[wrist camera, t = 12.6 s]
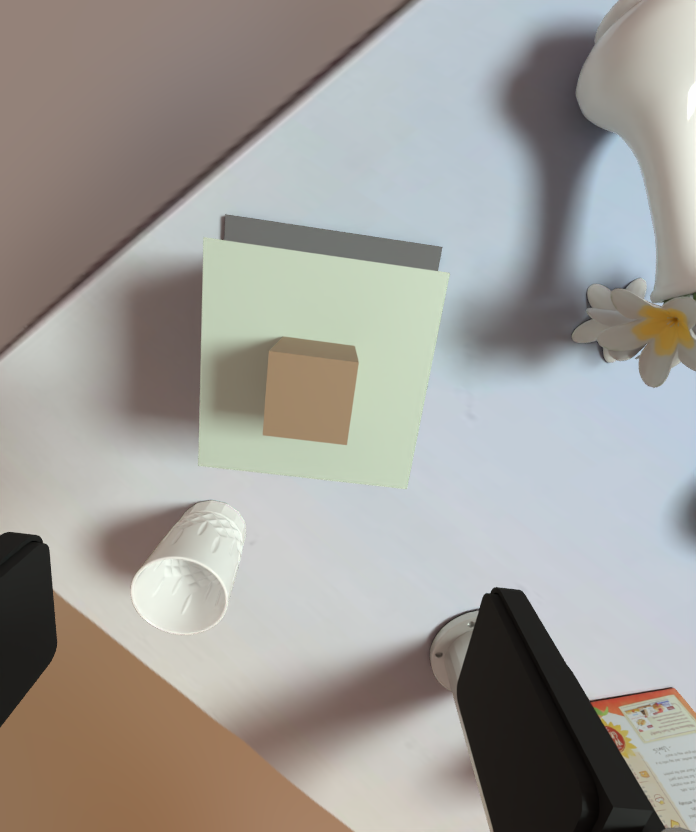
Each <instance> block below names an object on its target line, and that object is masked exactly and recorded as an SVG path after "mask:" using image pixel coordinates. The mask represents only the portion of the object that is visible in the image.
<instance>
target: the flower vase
mask: <svg viewBox="0 0 696 832" xmlns="http://www.w3.org/2000/svg"><path fill="white" fill-rule="evenodd" d="M594 41H595V46H594V47H593V49H592V50H591V52H590V54H589V55H588V57H587V59H586V60H585V62H584V64H583V67H582V69H581V72H580V75H579V79H578V82H577V86H576V97H577V101H578V105H579V108H580V110H581V112H582V113H583V115H584V116H585V117H586V118H587V119H588V120H589V121H590V122H592V123H593V124H595V125H596V126H598V127H600V128H601V129H604V130H607V131H610V132H612V133H615V134H617V135H619V136H620V137H621V138H622V140H623V141H624V142H625V143H626V144H627V145H628V147H629V148H630V150H631V151H632V153H633V154H634V156H635V158H636V160H637V162H638V165H639V167H640V170H641V174H642V177H643V181H644V185H645V190H646V194H647V199H648V204H649V209H650V214H651V219H652V224H653V229H654V236H655V246H656V274H655V285H654V289H653V291H652V293H651V295H650V299H651V302H652V303H650V302H648V301H646V300H645V299H644V297H645V294H646V287H647V285H646V282H645V280H644V279H642V278H639V279H636V280H634V281H633V282H631V283H630V284H629V285H628V286H627V288H626V289H621V288H616V289H614V290H612V291H611V290H609V289H608V288H606V287H605V286H603V285H600V284H592V285H591V286H590V287H589V288H588V291H587V297H588V301H589V303H590V305H591V306H592V308H588V309H587V310H586V312H587V314H588V315H589V316H590V317H591V318H592V319H591V320H589V321H586V322H585V323H583V324H581V325H580V326H578V327H577V328H576V329H575V330H574V332H573V333H572V339H573V341H574V342H577V343H589V342H594V341H598V344H599V345H600V346H602V347H603V355H604V358H605V360H606V361H607V362H609V363H611V362H614V361H616V360H618V361H625V360H628V359H631V358H632V357H634V356H635V355H636V354H637V353H638V352H639V351H640V350H641V349H642V348H643V347H644V346H645V345H646V344H647V345H646V346H645V348H644V349H643V351H642V352H641V355H639V356H638V357H636V358H635V359H638V358H639V373H640V376H641V378H642V380H643V381H644V383H645V384H646V385H648V386H650V387H653V388H655V387H659V386H661V385H662V384H663V383H664V382H665V381H666V379H667V377H668V375H669V373H670V370H671V368H673V367H674V366H676V365H678V364H679V363H680V362H682V363H683V364H684V365H685V366H687V367H688V368H690V369H692V370H694V371H696V0H619V1H618V2H617V3H616V4H615V5H614V6H613V7H612V8H611V9H610V10H609V12H608V13H607V14H606V15H605V17H604V18H603V20H602V22H601V23H600V25H599V27H598V29H597V32H596V36H595V40H594ZM662 302H664V304H663V305H662V306H659V305H656V304H653V303H662Z"/></svg>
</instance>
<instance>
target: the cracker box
mask: <svg viewBox="0 0 696 832" xmlns="http://www.w3.org/2000/svg"><path fill="white" fill-rule="evenodd" d="M591 704H592V706H593V707H594V709H595V711H596V712H597V714H598V716H599V717H600V719H601V721H602V722H603V724H604V726H605V727H606V729H607V731H608V733H609V734H610V736H611V738H612V739H613V741H614V743H615V744H616V746H617V748H618V749H619V751H620V753H621V754H622V756H623V758H624V759H625V761H626V763H627V764H628V766H629V768H630V769H631V771H632V773H633V774H634V776H635V778H636V779H637V781H638V783H639V784H640V786H641V788H642V789H643V791H644V793H645V795H646V796H647V798H648V800H649V801H650V803H651V805H652V806H653V808H654V810H655V811H656V813H657V815H658V816H659V818H660V820H661V821H662V823H663V825H664V826H665V828H673V827H681V828H684V829H687V830H690V831H693V832H696V713H695V712H694V711H693V709H692V708H691V707H690V706H689V704H688V703H687V702H686V701H685V700H684V699H683V697H682V696H681V695H680V694H679V693H678V692H677V690H676V689H675V688H670V689H665V690H659V691H654V692H647V693H641V694H636V695H630V696H624V697H619V698H613V699H606V700H601V701H595V702H591Z"/></svg>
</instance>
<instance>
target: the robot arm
mask: <svg viewBox="0 0 696 832" xmlns="http://www.w3.org/2000/svg"><path fill="white" fill-rule="evenodd" d="M56 648H57V636H56V624H55V612H54V600H53V588H52V576H51V564H50V552H49V547H48V545H47V544H44V543H43V541H42V539H41V537H40V536H37V535H31V534H22V533H14V532H7V533H4V534H2V535H0V727H1V726H2V724H3V723H4V722H5V720H6V719H7V718H8V717H9V715H10V714H11V713H12V711H13V710H14V709H15V708H16V706H17V705H18V704H19V703H20V701H21V700H22V699H23V697H24V696H25V695H26V693H27V692H28V691H29V689H30V688H31V687H32V686H33V684H34V683H35V682H36V681H37V679H38V678H39V677H40V675H41V674H42V673H43V671H44V670H45V669H46V668H47V666H48V665H49V664H50V662H51V661H52V658H53V657H54V654H55V652H56ZM430 662H431V667H432V670H433V673H434V676H435V677H436V679H437V680H438V682H439V683H440V684H441V685H442V686H443V687H445V688H446V689H447V690H449V691H451V692H452V694H453V698H454V701H455V705H456V709H457V712H458V716H459V720H460V723H461V727H462V731H463V734H464V738H465V742H466V745H467V749H468V752H469V756H470V760H471V763H472V767H473V771H474V774H475V778H476V782H477V785H478V789H479V793H480V796H481V800H482V804H483V807H484V811H485V815H486V818H487V822H488V825H489V829H490V832H693V831H690V830H687V829H684V828H681V827H673V828H665V826H664V825H663V823H662V821H661V820H660V818H659V816H658V815H657V813H656V811H655V810H654V808H653V806H652V805H651V803H650V801H649V800H648V798H647V796H646V795H645V793H644V791H643V789H642V788H641V786H640V784H639V783H638V781H637V779H636V778H635V776H634V774H633V773H632V771H631V769H630V768H629V766H628V764H627V763H626V761H625V759H624V758H623V756H622V754H621V753H620V751H619V749H618V748H617V746H616V744H615V743H614V741H613V739H612V738H611V736H610V734H609V733H608V731H607V729H606V727H605V726H604V724H603V722H602V721H601V719H600V717H599V716H598V714H597V712H596V711H595V709H594V707H593V706H592V704H591V702H590V701H589V699H588V697H587V696H586V694H585V692H584V691H583V689H582V687H581V686H580V684H579V682H578V681H577V679H576V677H575V676H574V674H573V672H572V671H571V670H570V668H569V667H568V666H567V664H566V663H565V661H564V659H563V658H562V656H561V654H560V653H559V651H558V649H557V648H556V646H555V644H554V642H553V641H552V639H551V637H550V636H549V634H548V632H547V631H546V629H545V627H544V626H543V624H542V622H541V621H540V619H539V617H538V615H537V614H536V612H535V610H534V609H533V607H532V605H531V604H530V602H529V600H528V599H527V597H526V595H525V594H524V593H523V591H521V590H516V589H507V588H498V587H496V588H493V589H492V591H491V593H490V594H489V593H486V594H485V595H484V596H483V598H482V602H481V605H480V608H479V610H478V611H474V612H469V613H467V614H464V615H461V616H459V617H457V618H455V619H454V620H452V621H450V622H449V623H448V624H447V625H445V626H444V627H443V628H442V629H441V630H440V631H439V633H438V634H437V635H436V637H435V639H434V640H433V642H432V646H431V649H430Z"/></svg>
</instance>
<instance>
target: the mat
mask: <svg viewBox="0 0 696 832" xmlns="http://www.w3.org/2000/svg"><path fill="white" fill-rule="evenodd" d="M224 240H225V241H232V242H239V243H246V244H253V245H260V246H267V247H274V248H281V249H288V250H295V251H301V252H308V253H315V254H322V255H329V256H336V257H343V258H350V259H357V260H364V261H371V262H377V263H384V264H391V265H398V266H405V267H412V268H419V269H426V270H433V271H438V267H439V262H440V257H441V252H442V247H439V246H432V245H426V244H419V243H412V242H406V241H399V240H392V239H386V238H379V237H372V236H366V235H359V234H353V233H346V232H339V231H333V230H326V229H319V228H313V227H306V226H299V225H293V224H286V223H279V222H273V221H266V220H259V219H253V218H246V217H240V216H233V215H226V214H225V236H224Z"/></svg>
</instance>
